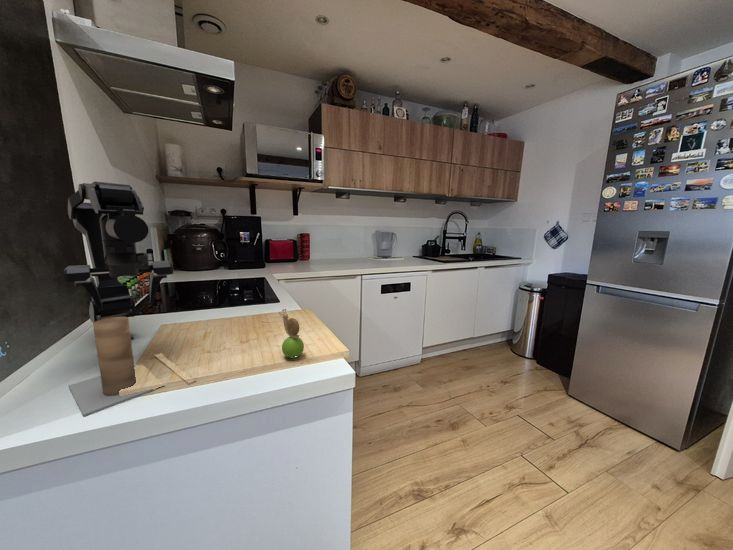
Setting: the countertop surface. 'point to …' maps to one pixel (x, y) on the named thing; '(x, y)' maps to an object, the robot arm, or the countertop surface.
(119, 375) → the smooth brown cylinder
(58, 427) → the countertop surface
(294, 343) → the snail figurine
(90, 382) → the mat
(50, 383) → the countertop surface
